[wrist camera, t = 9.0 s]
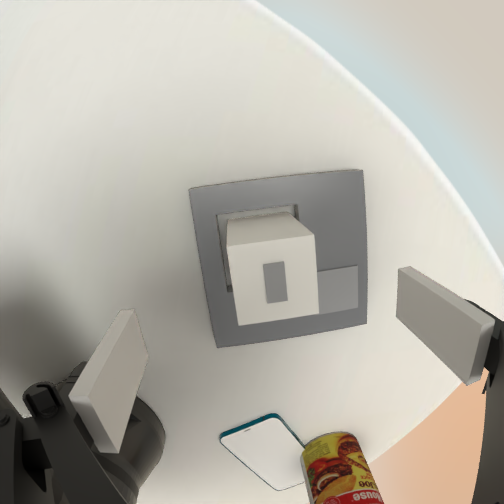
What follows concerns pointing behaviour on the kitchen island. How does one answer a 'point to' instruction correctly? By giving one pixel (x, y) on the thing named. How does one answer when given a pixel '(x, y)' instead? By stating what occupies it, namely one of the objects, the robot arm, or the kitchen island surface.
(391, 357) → the kitchen island surface
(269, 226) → the block
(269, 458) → the smartphone
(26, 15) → the kitchen island surface
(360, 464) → the canned food
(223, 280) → the grey square base plate
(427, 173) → the kitchen island surface
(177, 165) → the kitchen island surface
